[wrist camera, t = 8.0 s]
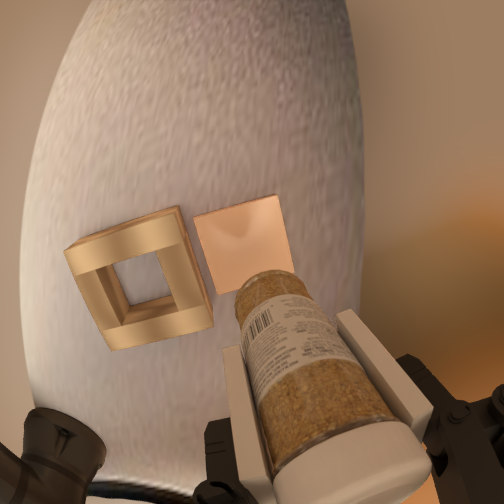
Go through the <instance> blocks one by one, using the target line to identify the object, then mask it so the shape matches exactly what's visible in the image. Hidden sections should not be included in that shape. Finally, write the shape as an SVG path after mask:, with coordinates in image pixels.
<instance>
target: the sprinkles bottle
mask: <svg viewBox="0 0 504 504" xmlns="http://www.w3.org/2000/svg"><path fill="white" fill-rule="evenodd" d="M234 307H235V316H236V318H237V320H238V322H239V324H240V329H241V341H242V346H243V351H244V356H245V361H246V366H247V370H248V374H249V379H250V384H251V388H252V393H253V397H254V401H255V405H256V410H257V414H258V417H259V419H260V421H261V422H262V426H263V430H264V434H265V437H266V439H267V445H268V448H269V452H270V456H271V460H272V463H273V467H274V470H273V473H272V476H273V478H274V482H273V491H274V496H275V499H276V503H277V504H400V503H401V502H403V501H404V500H406V498H408V497H409V496H411V495H412V494H413V493H414V492H415V491H416V490H418V489H419V488H420V487H421V486H422V485H423V483H424V482H425V481H426V480H427V478H428V477H429V475H430V473H431V469H432V462H431V460H430V458H429V456H428V455H427V453H426V452H425V450H424V449H423V447H422V445H421V444H420V442H419V441H418V439H417V438H416V436H415V435H414V433H413V432H412V430H411V429H410V428H409V426H407V425H406V424H404V423H402V421H401V420H400V419H399V418H397V417H395V416H394V415H393V414H392V412H391V411H390V409H389V407H388V406H387V404H386V403H385V402H384V401H383V399H382V397H381V396H380V394H379V393H378V391H377V390H376V389H375V387H374V386H373V384H372V383H371V381H370V380H369V379H368V377H367V374H366V372H365V370H364V369H363V367H362V366H361V364H360V363H359V362H358V360H357V359H356V357H355V356H354V354H353V353H352V352H351V350H350V349H349V347H348V346H347V345H346V343H345V342H344V340H343V339H342V338H341V336H340V335H339V334H338V332H337V331H336V329H335V328H334V327H333V325H332V324H331V322H330V321H329V320H328V318H327V317H326V315H325V314H324V313H323V311H322V310H321V308H320V307H319V306H318V305H317V304H316V303H315V302H314V301H313V299H312V298H311V297H310V295H309V294H308V292H307V290H306V287H305V285H304V283H303V282H302V281H301V280H300V279H299V278H298V277H297V276H295V275H293V274H292V273H290V272H287V271H283V270H279V269H277V270H268V271H263V272H260V273H258V274H256V275H254V276H252V277H250V278H249V279H248V280H247V281H246V282H245V283H244V284H243V285H242V287H241V289H240V290H239V291H238V293H237V296H236V299H235V305H234Z"/></svg>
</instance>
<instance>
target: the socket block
mask: <svg viewBox="0 0 504 504" xmlns="http://www.w3.org/2000/svg"><path fill="white" fill-rule="evenodd" d="M152 251H156V254H157V256H158V259H159V262H160V265H161V267H162V270H163V273H164V275H165V278H166V280H167V283H168V286H169V288H170V291H171V293H172V295H170V296H166V297H163V298H159V299H156V300H152V301H148V302H145V303H141V304H137V305H134V306H130V305H129V303H128V301H127V299H126V297H125V294H124V292H123V290H122V287H121V285H120V283H119V281H118V278H117V276H116V273H115V271H114V269H113V266H112V264H114V263H117V262H120V261H123V260H126V259H129V258H133V257H136V256H139V255H142V254H145V253H149V252H152ZM63 252H64V255H65V257H66V260H67V262H68V265H69V267H70V270H71V272H72V274H73V276H74V279H75V281H76V283H77V285H78V288H79V290H80V292H81V294H82V296H83V298H84V301H85V303H86V305H87V307H88V309H89V311H90V313H91V315H92V317H93V319H94V321H95V322H96V324H97V326H98V328H99V330H100V332H101V334H102V336H103V337H104V339H105V341H106V343H107V345H108V346H109V348H110V350H111V351H116V350H120V349H125V348H130V347H134V346H139V345H143V344H147V343H152V342H156V341H160V340H164V339H168V338H173V337H177V336H181V335H185V334H189V333H192V332H196V331H200V330H204V329H208V328H211V327H214V324H213V308H212V304H211V301H210V298H209V295H208V293H207V290H206V287H205V284H204V281H203V278H202V275H201V273H200V270H199V267H198V264H197V261H196V258H195V255H194V252H193V249H192V246H191V243H190V239H189V236H188V233H187V230H186V227H185V224H184V221H183V217H182V214H181V211H180V208H179V205H177V206H174V207H171V208H168V209H165V210H162V211H158V212H155V213H152V214H149V215H146V216H143V217H140V218H137V219H134V220H131V221H128V222H125V223H123V224H120V225H117V226H114V227H111V228H108V229H106V230H103V231H100V232H97V233H95V234H92V235H89V236H86V237H84V238H81V239H79V240H78V241H76V242H75V243H74V244H72V245H71V246H70V247H68V248H67V249H66V250H64V251H63Z"/></svg>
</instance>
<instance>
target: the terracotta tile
mask: <svg viewBox="0 0 504 504" xmlns="http://www.w3.org/2000/svg"><path fill="white" fill-rule="evenodd" d="M193 220H194V224H195V227H196V230H197V233H198V236H199V240H200V243H201V246H202V249H203V252H204V255H205V258H206V261H207V264H208V267H209V271H210V274H211V277H212V280H213V283H214V286H215V288H216V291H217V294H218V295H220V294H223V293H227V292H230V291H234V290H237V289H241V287H242V285H243V284H244V283H245V282H246V281H247V280H248V279H249V278H250V277H252V276H254V275H256V274H258V273H260V272H263V271H268V270H277V269H279V270H283V271H287V272H290V273H294V267H293V263H292V258H291V253H290V249H289V244H288V240H287V235H286V231H285V226H284V222H283V217H282V213H281V209H280V204H279V200H278V196H277V195H276V194H274V195H270V196H266V197H263V198H259V199H255V200H252V201H248V202H244V203H241V204H237V205H233V206H230V207H226V208H223V209H219V210H216V211H212V212H209V213H206V214H202V215H199V216H196V217H193Z"/></svg>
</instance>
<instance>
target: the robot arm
mask: <svg viewBox="0 0 504 504" xmlns="http://www.w3.org/2000/svg"><path fill="white" fill-rule="evenodd" d="M336 321H337V329H338V334H339V335H340V336H341V338H342V339H343V340H344V342H345V343H346V345H347V346H348V347H349V349H350V350H351V352H352V353H353V354H354V356H355V357H356V359H357V360H358V362H359V363H360V364H361V366H362V367H363V369H364V370H365V372H366V374H367V377H368V379H369V380H370V381H371V383H372V384H373V386H374V387H375V389H376V390H377V391H378V393H379V394H380V396H381V397H382V399H383V401H384V402H385V403H386V404H387V406H388V407H389V409H390V411H391V412H392V414H393V415H394V416H395V417H397V418H399V419H400V420H401V421H402V423H404V424H406V425H407V426H409V428H410V429H411V430H412V432H413V433H414V435H415V436H416V438H417V439H418V441H419V442H420V444H422V441H423V442H424V444H425V445H426V447H427V450H426V453H427V455H428V456H429V458H430V460H431V462H432V469H431V473H432V477H433V480H434V483H435V487H436V491H437V494H438V498H439V502H440V504H504V384H501V385H500V386H498V387H497V388H496V389H495V390H494V391H493V393H492V396H491V397H488V398H485V399H482V400H479V401H476V402H472V403H468V402H466V401H464V400H456V399H455V398H454V397H453V396H452V395H451V394H450V393H449V392H448V391H447V389H446V388H445V387H444V386H443V385H442V384H441V383H440V382H439V381H438V380H437V378H436V377H435V376H434V375H432V373H431V372H430V371H429V370H428V369H427V368H426V366H425V365H424V364H423V363H422V362H421V361H420V360H419V359H418V358H416V357H414V356H411V355H409V354H406V355H404V356H402V357H400V358H398V359H396V360H395V359H394V358H393V357H392V356H391V355H390V354H389V352H388V351H387V350H386V349H385V348H384V347H383V345H382V344H381V343H380V342H379V341H378V339H377V338H376V337H375V336H374V335H373V334H372V333H371V331H370V330H369V329H368V328H367V327H366V326H365V324H364V323H363V322H362V321H361V320H360V319H359V317H358V316H357V315H356V314H355V313H354V312H353V311H352V310H351V309H349V310H346V311H343V312H340V313H337V314H336ZM222 351H223V360H224V369H225V378H226V387H227V395H228V403H229V411H230V417H229V418H224V419H220V420H215V421H210V422H209V423H208V425H207V428H206V430H205V432H204V439H205V454H206V456H205V457H206V473H207V480H205V481H203V482H201V483H200V484H199V485H198V486H197V487H196V488H195V490H194V493H193V495H192V496H193V503H194V504H277V503H276V499H275V496H274V491H273V482H274V478H273V476H272V473H273V470H274V467H273V463H272V460H271V456H270V452H269V448H268V445H267V439H266V437H265V434H264V430H263V426H262V422H261V421H260V419H259V417H258V414H257V410H256V405H255V401H254V397H253V393H252V388H251V384H250V379H249V374H248V370H247V366H246V363H245V360H244V357H243V354H242V352H241V349H240V346H239V345H235V346H232V347H228V348H224V349H222ZM105 456H106V448H105V445H104V443H103V442H102V441H101V439H100V438H99V437H98V436H97V435H96V434H95V433H94V432H93V431H91V430H90V429H89V428H88V427H86V426H85V425H83V424H82V423H80V422H79V421H77V420H75V419H73V418H71V417H69V416H67V415H65V414H63V413H60V412H57V411H54V410H50V409H45V408H36V409H33V410H31V411H30V412H29V413H28V416H27V418H26V420H25V422H24V438H23V453H22V456H21V459H20V458H19V457H17V456H16V455H15V454H14V453H12V452H11V451H10V450H9V449H8V448H6V447H5V446H4V445H3V444H2V443H1V442H0V504H85V502H86V497H87V491H88V486H89V484H90V483H91V481H92V480H93V478H94V477H95V475H96V473H97V471H98V469H100V468H101V467H102V466H103V464H104V461H105Z"/></svg>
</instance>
